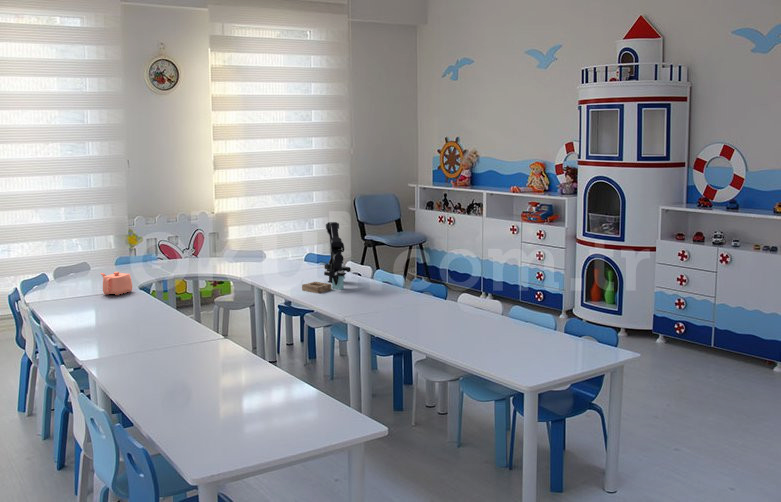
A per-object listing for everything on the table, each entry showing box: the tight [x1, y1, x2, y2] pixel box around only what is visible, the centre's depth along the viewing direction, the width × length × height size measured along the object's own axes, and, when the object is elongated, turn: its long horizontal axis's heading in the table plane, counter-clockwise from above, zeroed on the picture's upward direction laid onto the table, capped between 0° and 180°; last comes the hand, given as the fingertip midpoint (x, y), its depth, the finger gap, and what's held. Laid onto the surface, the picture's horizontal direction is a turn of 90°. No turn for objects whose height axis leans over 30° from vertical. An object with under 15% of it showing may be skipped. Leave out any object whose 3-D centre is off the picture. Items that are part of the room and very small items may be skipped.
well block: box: [301, 281, 332, 294], centre depth 486 cm, size 12×14×4 cm
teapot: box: [99, 271, 133, 296], centre depth 487 cm, size 20×19×14 cm
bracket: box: [331, 276, 346, 291], centre depth 488 cm, size 3×9×8 cm, turn 49°
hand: (337, 284), depth 489 cm, fingers closed on bracket, 3 cm apart
